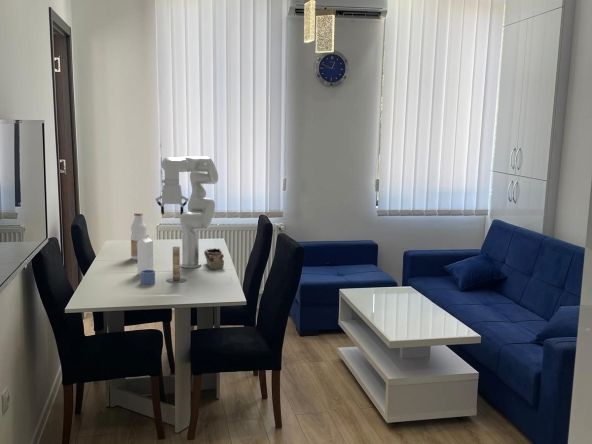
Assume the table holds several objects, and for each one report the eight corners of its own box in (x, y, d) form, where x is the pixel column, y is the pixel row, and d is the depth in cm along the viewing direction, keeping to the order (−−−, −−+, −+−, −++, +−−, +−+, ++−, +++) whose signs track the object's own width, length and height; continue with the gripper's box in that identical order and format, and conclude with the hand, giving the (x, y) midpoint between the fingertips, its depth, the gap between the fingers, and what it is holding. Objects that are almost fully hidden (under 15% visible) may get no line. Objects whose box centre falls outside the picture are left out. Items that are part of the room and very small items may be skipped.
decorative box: (201, 270, 351) (201, 253, 349) (199, 262, 370) (199, 246, 368) (224, 269, 353) (224, 253, 352) (221, 261, 373) (221, 246, 371)
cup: (142, 282, 322) (141, 269, 320) (156, 282, 322) (155, 269, 321) (140, 286, 314) (139, 273, 313) (154, 286, 315) (154, 273, 314)
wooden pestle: (173, 279, 326) (172, 246, 323) (180, 279, 327) (179, 246, 324) (172, 281, 323) (172, 247, 320) (179, 281, 323) (179, 247, 320)
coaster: (166, 279, 330) (166, 277, 329) (187, 279, 331) (187, 277, 331) (164, 284, 319) (164, 283, 319) (186, 284, 320) (186, 283, 320)
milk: (137, 275, 336) (136, 235, 332) (144, 272, 342) (144, 234, 338) (146, 276, 334) (145, 236, 330) (153, 274, 339) (152, 235, 335)
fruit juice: (135, 261, 368) (134, 214, 364) (128, 258, 375) (127, 212, 371) (149, 259, 374) (149, 213, 369) (143, 256, 381) (142, 211, 377)
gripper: (154, 183, 323) (155, 215, 326) (187, 183, 325) (188, 215, 328) (156, 181, 330) (156, 213, 333) (188, 181, 332) (189, 213, 335)
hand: (172, 214), depth 330 cm, fingers open, 9 cm apart
